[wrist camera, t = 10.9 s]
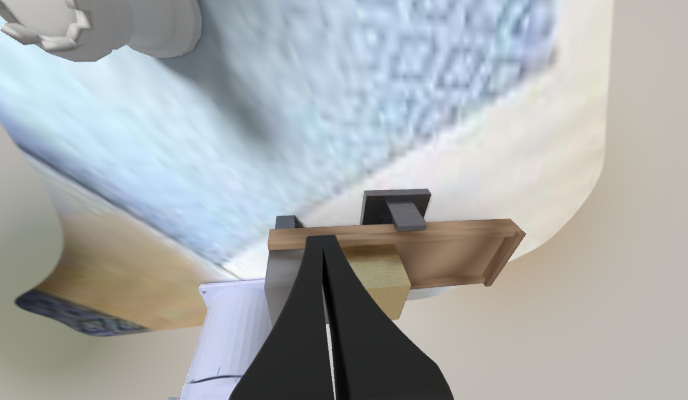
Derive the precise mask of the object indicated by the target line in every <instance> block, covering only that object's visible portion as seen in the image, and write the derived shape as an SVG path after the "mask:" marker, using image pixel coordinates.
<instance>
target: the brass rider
mask: <svg viewBox="0 0 688 400" xmlns="http://www.w3.org/2000/svg"><path fill="white" fill-rule="evenodd" d="M341 249H342V251H343V253H344V255H345V257H346V259H347V261H348V262H349V264H350V266H351V267H352V269H353V271H354V272H355V274H356V276H357V277H358V279H359V280H360V282H361V283H362V285H363V286H364V287H365V289H366V290H367V292H368V293H369V294H370V296H371V297H372V298H373V299H374V301H375V302H376V303H377V305H378V306H379V307H380V308H381V309H382V311H383V312H384V313H385V314H386V315H387V316H388V317H389V318H390V319H391V320H397V319H399V317H400V314H401V312H402V309H403V306H404V304H405V301H406V298H407V295H408V293H409V290H410V287H411V283H410V281H409V278H408V276H407V274H406V271H405V269H404V266H403V264H402V261H401V259H400V256H399V254H398V252H397V249H396V247H395V244H383V245H366V246H350V247H341Z"/></svg>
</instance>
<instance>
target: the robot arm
mask: <svg viewBox="0 0 688 400" xmlns="http://www.w3.org/2000/svg"><path fill="white" fill-rule="evenodd" d="M264 285H265V279H259V280H246V281H234V282H221V283H208V284H201V285H200V286H199V292H200V294H201V296H202V298H203V300H204V302H205V304H206V306H207V308H208V311H207V314H206V317H205V321H204V324H203V327H202V330H201V334H200V336H199V340H198V343H197V346H196V349H195V352H194V355H193V359H192V362H191V365H190V369H189V371H188V375H187V378H186V381H185V384H184V386H183V388H182V391H181V394H180V396H179V399H178V400H334V392H333V384H332V376H331V368H330V360H329V351H328V342H327V333H326V323H325V314H324V303H323V293H322V285H323V291H324V297H325V303H326V309H327V315H328V321H329V327H330V333H331V341H332V353H333V367H334V379H335V392H336V400H454V398H453V395H452V393H451V390H450V388H449V385H448V384H447V382H446V380H445V378H444V376H443V374H442V372H441V370H440V369H439V367H438V365H437V364H436V363H435V362H434V361H433V360H431V359H430V358H429V357H428V356H427V355H426V354H425V353H423V352H422V351H421V350H420V349H419V348H418V347H417V346H416V345H415V344H414V343H413V342H412V341H411V340H410V339H409V338H408V337H407V336H406V335H405V334H404V333H402V331H401V330H400V329H399V328H398V327H397V326H396V325H395V324H394V323H393V322H392V321H391V319H390V318H389V317H388V316H387V315H386V314H385V313H384V312H383V311H382V309H381V308H380V307H379V306H378V305H377V303H376V302H375V301H374V299H373V298H372V297H371V296H370V294H369V293H368V292H367V290H366V289H365V287H364V286H363V285H362V283H361V282H360V280H359V279H358V277H357V276H356V274H355V272H354V271H353V269H352V267H351V266H350V264H349V262H348V261H347V259H346V257H345V255H344V253H343V251H342V249H341V247H340V245H339V242H338V240H337V237H336V236H335V235H316V236H308V237H306V244H305V250H304V254H303V258H302V262H301V265H300V268H299V271H298V274H297V277H296V279H295V282H294V284H293V287H292V289H291V292H290V294H289V296H288V299H287V301H286V303H285V305H284V307H283V309H282V311H281V313H280V315H279V317H278V319H277V321H276V323H275V325H274V327H273V328H272V323H271V319H270V314H269V309H268V304H267V300H266V295H265V290H264ZM168 400H177V398H175V397H170V398H169V399H168Z"/></svg>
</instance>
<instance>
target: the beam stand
mask: <svg viewBox="0 0 688 400" xmlns="http://www.w3.org/2000/svg"><path fill="white" fill-rule="evenodd" d="M430 196H431V193H430V192H429V190H428V189H409V190H374V191H364V197H363V204H362V212H361V219H360V225H381V224H394V226H395V229H396V231H411V230H425V229H426V226H427V224H426V223H425V221H424V219H423V217H424V214H425V211H426V208H427V205H428V202H429V199H430ZM293 228H296V226H295V215H294V216H277V218H276V226H275V229H293Z"/></svg>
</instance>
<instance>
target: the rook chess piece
mask: <svg viewBox="0 0 688 400" xmlns="http://www.w3.org/2000/svg"><path fill="white" fill-rule="evenodd" d="M0 16H1V17H2V18H3V19H4V20H5V21H7V22H8V23H5V25H4V26H3V28H2V29H1V30H0V31H2V32H4V33H5V34H7V35H9V36H10V37H12V38H13V39H15V40H17V41H18V42H20V43H22V44H23V45H28V44H35V45H37V46H38V47H40V48H42V49H43V50H45V51H46V52H48V53H50V54H52V55H56V56H59V57H62V58H65V59H68V60H71V61H74V62H96V61H98V60H99V59H101V58H103V57H105V56H106V55H108V54H110V53H111V52H112V50H115V49H119V48H120V47H122V46H124V45H128V46H129V47H130V48H132V49H133V50H136V51H139V52H141V53H144V54H147V55H150V56H152V57H155V58H173V57H181V56H183V55H185V54H186V53H188V52H190V51H192V50H193V49H194V47H195V46H196V44H197V42H198V41H199V39H200V37H201V28H202V16H201V12H200V8H199V5H198V1H197V0H0Z"/></svg>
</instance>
